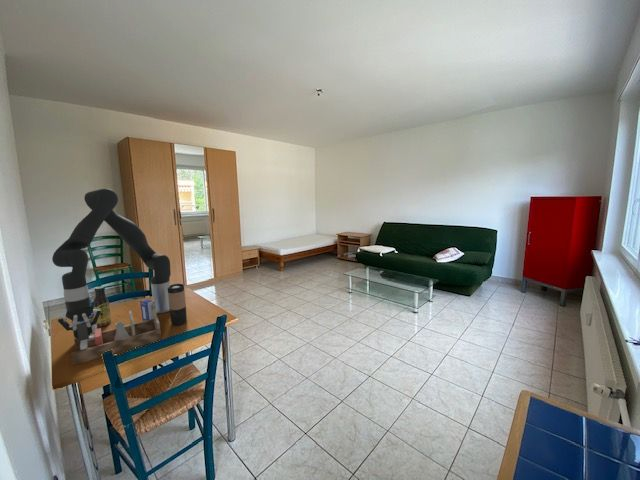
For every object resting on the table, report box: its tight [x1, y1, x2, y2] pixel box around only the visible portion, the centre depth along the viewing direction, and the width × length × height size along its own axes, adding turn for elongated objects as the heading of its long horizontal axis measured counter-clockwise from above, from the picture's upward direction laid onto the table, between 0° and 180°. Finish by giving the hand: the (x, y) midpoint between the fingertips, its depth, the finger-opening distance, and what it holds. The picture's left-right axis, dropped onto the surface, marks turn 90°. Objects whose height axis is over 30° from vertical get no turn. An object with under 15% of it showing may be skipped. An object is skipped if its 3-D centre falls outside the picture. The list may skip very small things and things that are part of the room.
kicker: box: [76, 321, 104, 350], centre depth 113 cm, size 7×14×14 cm, turn 38°
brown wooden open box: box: [70, 310, 163, 366], centre depth 119 cm, size 30×14×12 cm, turn 128°
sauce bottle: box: [92, 285, 112, 328], centre depth 137 cm, size 6×6×20 cm
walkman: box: [139, 298, 158, 322], centre depth 140 cm, size 8×3×12 cm, turn 67°
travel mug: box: [167, 283, 188, 327], centre depth 139 cm, size 8×8×20 cm
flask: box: [113, 321, 131, 341], centre depth 120 cm, size 7×7×10 cm
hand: (83, 335), depth 112 cm, fingers closed on kicker, 3 cm apart
